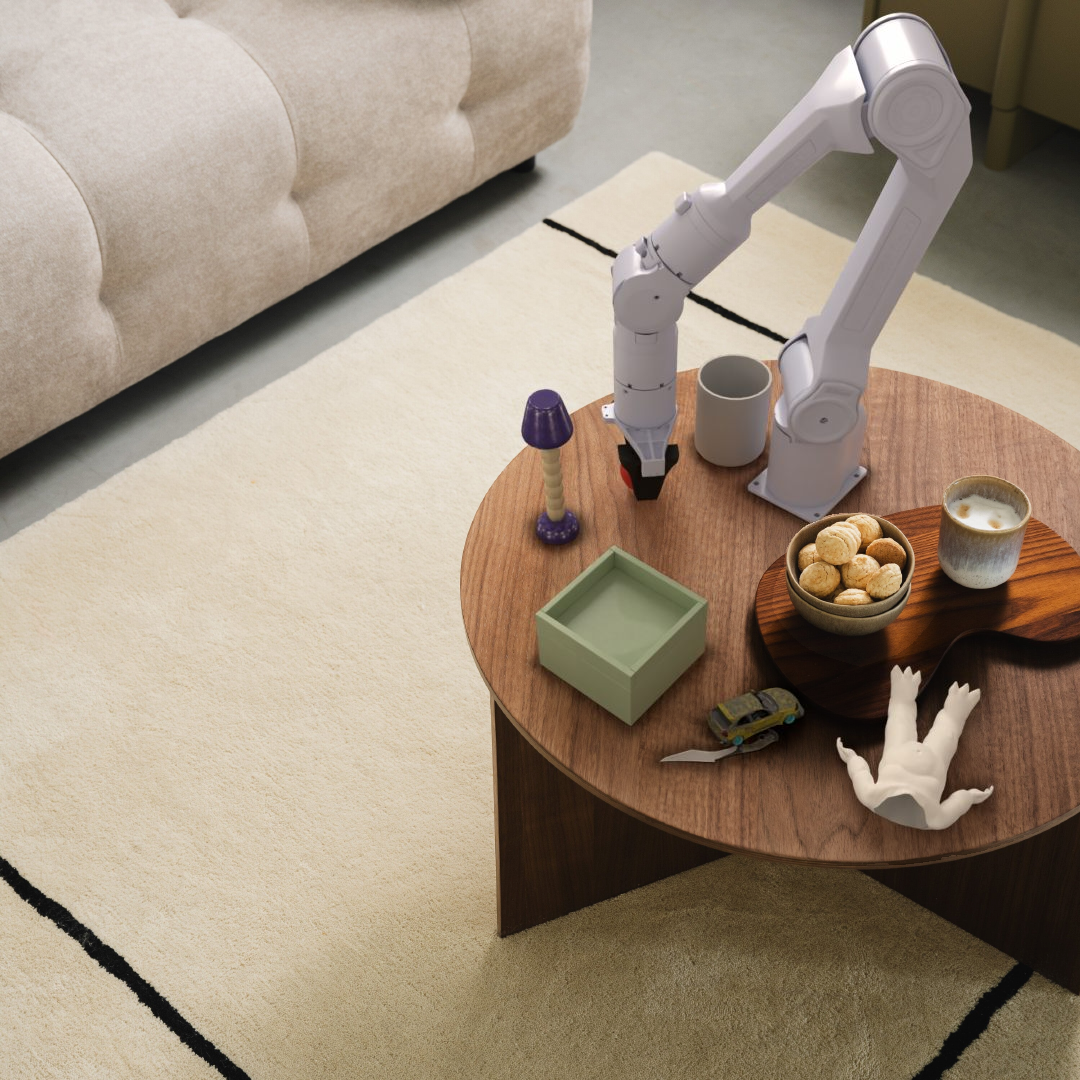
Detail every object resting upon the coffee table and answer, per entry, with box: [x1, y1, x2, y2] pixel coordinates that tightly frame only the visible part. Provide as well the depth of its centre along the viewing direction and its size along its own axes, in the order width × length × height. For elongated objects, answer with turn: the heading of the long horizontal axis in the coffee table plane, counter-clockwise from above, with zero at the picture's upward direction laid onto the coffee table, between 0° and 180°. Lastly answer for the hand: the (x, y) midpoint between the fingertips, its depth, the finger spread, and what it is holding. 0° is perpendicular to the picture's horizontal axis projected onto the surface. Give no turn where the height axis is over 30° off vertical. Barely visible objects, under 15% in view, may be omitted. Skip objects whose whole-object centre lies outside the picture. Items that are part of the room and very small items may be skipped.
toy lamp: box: [520, 388, 581, 546], centre depth 105 cm, size 5×5×17 cm
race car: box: [705, 687, 805, 748], centre depth 94 cm, size 4×8×2 cm, turn 113°
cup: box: [694, 353, 773, 468], centre depth 116 cm, size 7×10×9 cm
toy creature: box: [836, 664, 995, 831], centre depth 89 cm, size 12×6×12 cm
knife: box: [659, 728, 779, 763], centre depth 93 cm, size 10×2×1 cm, turn 106°
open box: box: [534, 544, 709, 727], centre depth 98 cm, size 10×10×7 cm
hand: (643, 480), depth 114 cm, fingers closed on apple, 4 cm apart
